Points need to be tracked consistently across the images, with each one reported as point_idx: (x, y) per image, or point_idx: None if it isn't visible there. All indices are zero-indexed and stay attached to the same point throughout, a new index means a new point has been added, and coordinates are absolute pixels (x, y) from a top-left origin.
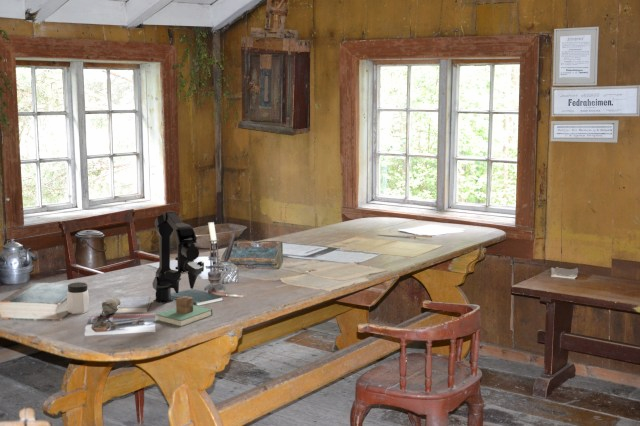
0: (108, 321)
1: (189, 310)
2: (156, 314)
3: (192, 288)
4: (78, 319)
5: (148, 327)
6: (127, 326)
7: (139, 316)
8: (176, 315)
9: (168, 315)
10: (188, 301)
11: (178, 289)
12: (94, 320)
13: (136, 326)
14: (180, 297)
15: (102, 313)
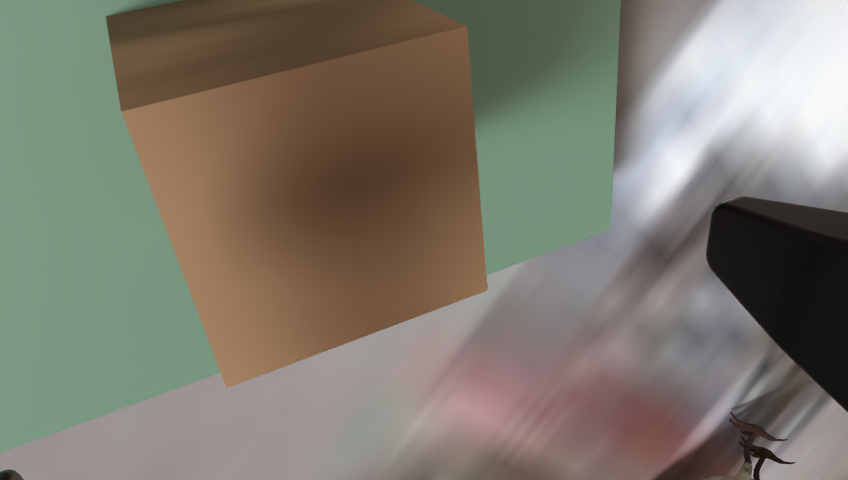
0: (771, 364)
1: (227, 3)
2: (610, 223)
3: (6, 471)
4: (806, 467)
5: (770, 24)
6: (813, 179)
7: (568, 383)
8: (491, 8)
9: (562, 89)
10: (314, 46)
11: (840, 234)
12: (788, 419)
13: (787, 132)
14: (372, 321)
15: (756, 474)
